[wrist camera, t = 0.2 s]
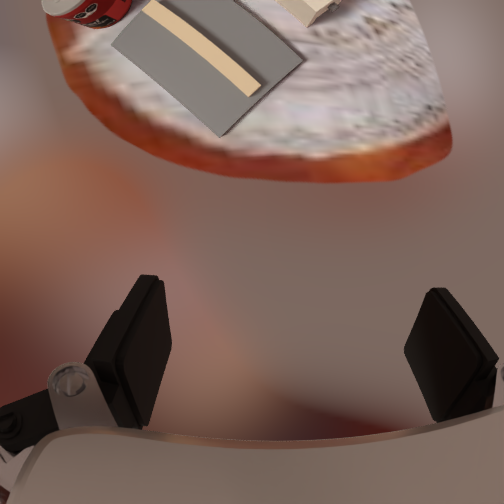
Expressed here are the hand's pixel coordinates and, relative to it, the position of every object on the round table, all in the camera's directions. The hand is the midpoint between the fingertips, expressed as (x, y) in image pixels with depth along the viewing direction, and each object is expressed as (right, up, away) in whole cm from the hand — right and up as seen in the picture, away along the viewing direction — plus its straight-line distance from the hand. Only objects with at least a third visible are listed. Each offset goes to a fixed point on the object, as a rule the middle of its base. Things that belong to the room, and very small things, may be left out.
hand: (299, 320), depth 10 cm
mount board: (-8, +27, +21) cm, 35 cm away
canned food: (-21, +36, +17) cm, 45 cm away
